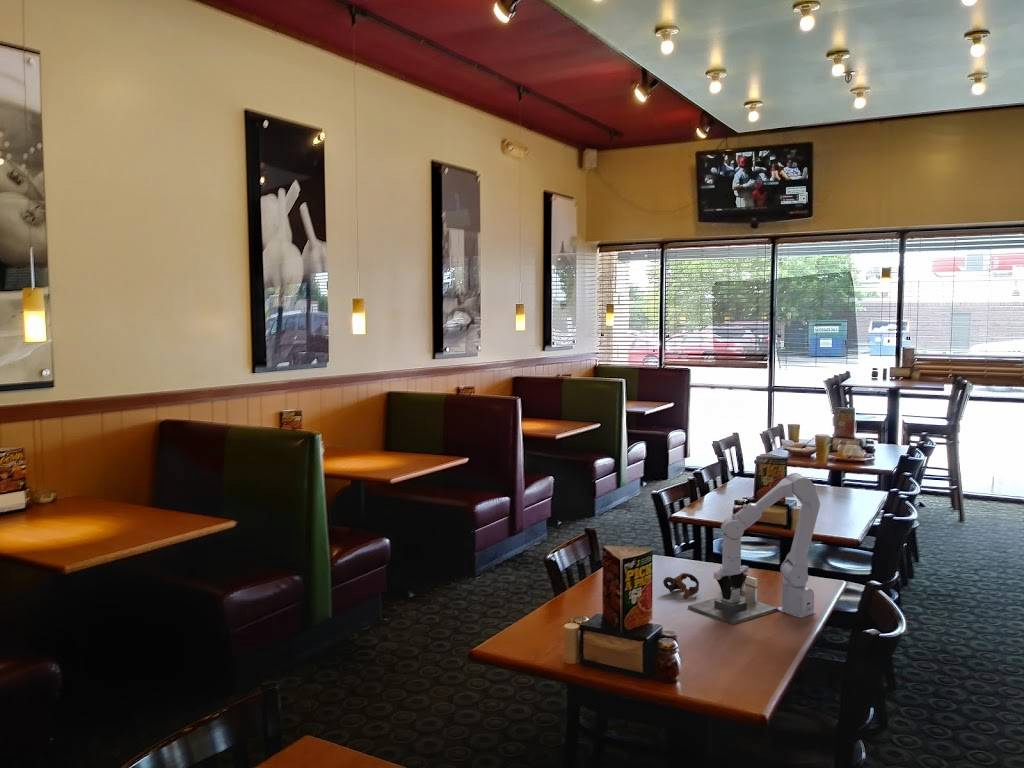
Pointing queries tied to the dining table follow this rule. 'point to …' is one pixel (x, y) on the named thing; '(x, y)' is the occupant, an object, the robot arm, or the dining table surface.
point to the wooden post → (733, 596)
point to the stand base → (735, 606)
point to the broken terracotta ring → (682, 584)
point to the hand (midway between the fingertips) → (730, 597)
